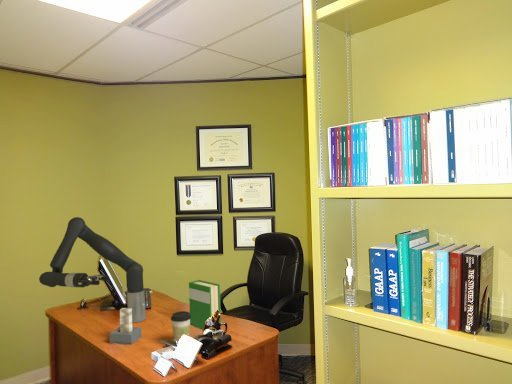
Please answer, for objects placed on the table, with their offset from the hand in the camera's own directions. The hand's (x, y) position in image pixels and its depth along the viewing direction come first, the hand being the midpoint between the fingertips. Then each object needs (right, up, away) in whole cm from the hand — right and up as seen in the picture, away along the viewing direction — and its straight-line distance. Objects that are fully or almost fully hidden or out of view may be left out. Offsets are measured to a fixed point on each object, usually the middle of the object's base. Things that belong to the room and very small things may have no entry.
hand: (104, 280), depth 197 cm
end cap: (+13, -30, -4) cm, 32 cm away
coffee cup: (+43, -29, -11) cm, 53 cm away
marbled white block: (+13, -29, -4) cm, 32 cm away
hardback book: (+51, -29, +12) cm, 60 cm away
